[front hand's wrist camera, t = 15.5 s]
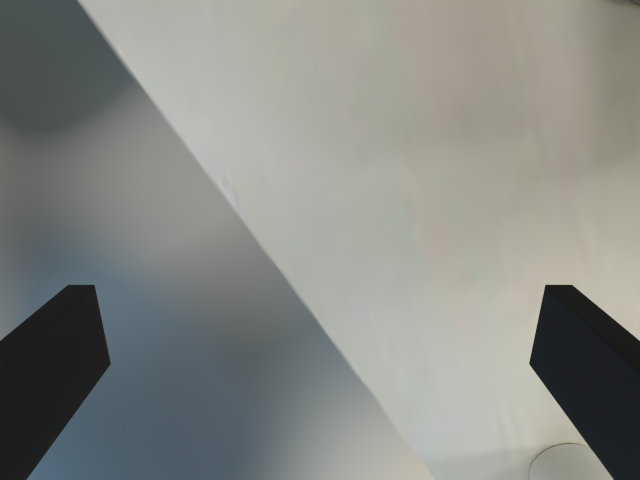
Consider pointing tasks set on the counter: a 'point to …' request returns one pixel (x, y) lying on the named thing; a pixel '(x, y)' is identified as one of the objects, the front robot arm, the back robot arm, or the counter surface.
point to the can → (568, 464)
